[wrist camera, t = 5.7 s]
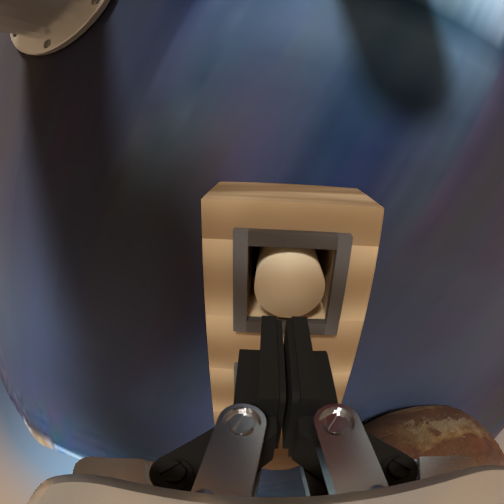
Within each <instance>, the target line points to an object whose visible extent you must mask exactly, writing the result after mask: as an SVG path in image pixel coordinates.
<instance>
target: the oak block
mask: <svg viewBox="0 0 504 504" xmlns="http://www.w3.org/2000/svg"><path fill="white" fill-rule="evenodd" d="M383 215H384V208H383V207H382V206H381V205H379V204H378V203H376V202H375V201H374V200H372V199H371V198H370V197H368V196H367V195H366V194H364V193H363V192H361V191H360V190H359V189H355V188H343V187H330V186H315V185H299V184H279V183H254V182H219V183H218V184H216V185H215V186H214V187H213V188H212V189H211V190H210V191H209V192H208V193H207V194H206V195H205V196H204V197H203V198H201V217H202V250H203V274H204V295H205V312H206V328H207V343H208V356H209V369H210V381H211V392H212V403H213V413H214V423H215V424H216V421H217V418H218V416H219V414H220V413H221V411H223V410H224V409H225V408H226V407H228V406H231V405H233V403H234V393H235V384H236V375H237V366H238V357H239V350H240V349H248V350H260V338H261V317H262V315H263V316H276V315H273V314H271V313H269V312H268V311H266V310H265V309H264V308H263V307H262V306H261V305H260V304H259V302H258V300H257V298H256V296H255V291H254V283H255V275H252V259H253V246H262V247H284V248H305V249H319V252H318V260H319V263H320V266H321V270H322V273H323V276H324V280H325V291H324V295H323V297H322V299H321V301H320V302H319V304H318V305H317V306H316V307H315V308H314V309H313V310H312V311H310V312H309V313H307V314H305V315H302V316H304V317H307V320H308V326H309V331H310V337H311V342H312V348H313V351H327V354H328V358H329V362H330V367H331V371H332V376H333V381H334V385H335V390H336V395H337V400H338V404H341V402H342V399H343V395H344V392H345V389H346V386H347V382H348V379H349V376H350V372H351V369H352V365H353V362H354V358H355V354H356V350H357V347H358V343H359V339H360V335H361V331H362V327H363V323H364V318H365V314H366V310H367V305H368V301H369V296H370V291H371V286H372V281H373V276H374V271H375V265H376V260H377V254H378V248H379V242H380V235H381V229H382V222H383ZM276 320H282V330H283V344H284V334H285V324H286V320H291V318H284V317H279V316H276Z"/></svg>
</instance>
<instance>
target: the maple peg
mask: <svg viewBox="0 0 504 504" xmlns="http://www.w3.org/2000/svg"><path fill="white" fill-rule="evenodd" d="M254 291H255V296H256V298H257V300H258V302H259V304H260V305H261V306H262V307H263V308H264V309H265V310H266V311H268V312H269V313H271V314H273V315H276V316H279V317H284V318H292V316H302V315H305V314H307V313H309V312H310V311H312V310H313V309H314V308H315V307H316V306H317V305H318V304H319V302H320V301H321V299H322V297H323V295H324V291H325V280H324V276H323V273H322V270H321V266H320V263H319V260H318V257H317V254H316V251H315V249H305V248H284V247H262V246H259V252H258V260H257V268H256V275H255V283H254Z"/></svg>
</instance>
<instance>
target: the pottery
mask: <svg viewBox="0 0 504 504" xmlns="http://www.w3.org/2000/svg"><path fill="white" fill-rule="evenodd" d="M363 427H364V429H365V431H366V432H368V433H369V434H371V435H373V436H375V437H376V438H378V439H380V440H382V441H383V442H385V443H387V444H389V445H390V446H392V447H394V448H396V449H398V450H399V451H401V452H403V453H405V454H407V455H409V456H410V457H411V458H413V459H418V458H419V457H429V456H454V455H469V456H471V457H473V458H474V459H475V460H476V461H477V463H478V466H480V465H499V466H504V454H503V452H502V450H501V449H500V447H499V445H498V443H497V442H496V441H495V440H494V438H493V437H492V436H491V435H490V433H488V432H487V431H486V430H485V429H484V428H483V426H482V425H481V424H479V423H478V422H477V421H476V420H475V419H473V418H472V417H471V416H469V415H468V414H466V413H464V412H463V411H461V410H459V409H456V408H453V407H450V406H446V405H425V406H416V407H410V408H406V409H401V410H397V411H394V412H391V413H388V414H385V415H383V416H380V417H378V418H376V419H374V420H372V421H370V422H368V423H367V424H365V425H364V426H363Z"/></svg>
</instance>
